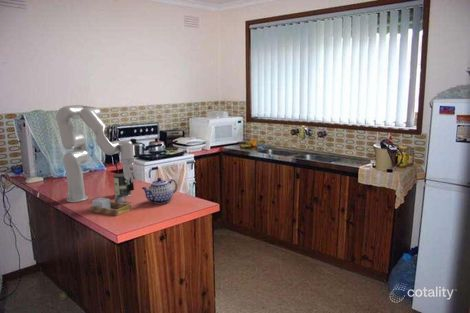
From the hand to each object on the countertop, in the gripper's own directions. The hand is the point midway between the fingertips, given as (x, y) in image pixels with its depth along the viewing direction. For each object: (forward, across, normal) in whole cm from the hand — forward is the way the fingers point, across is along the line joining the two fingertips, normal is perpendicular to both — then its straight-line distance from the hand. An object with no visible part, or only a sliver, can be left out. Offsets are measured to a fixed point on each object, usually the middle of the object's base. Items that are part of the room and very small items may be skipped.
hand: (131, 190), depth 231 cm
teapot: (+8, -11, -15) cm, 20 cm away
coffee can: (+7, +18, 0) cm, 19 cm away
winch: (+7, +1, +7) cm, 10 cm away
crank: (+2, +2, +4) cm, 5 cm away
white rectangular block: (+7, -3, +19) cm, 21 cm away
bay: (+7, -9, +16) cm, 19 cm away
